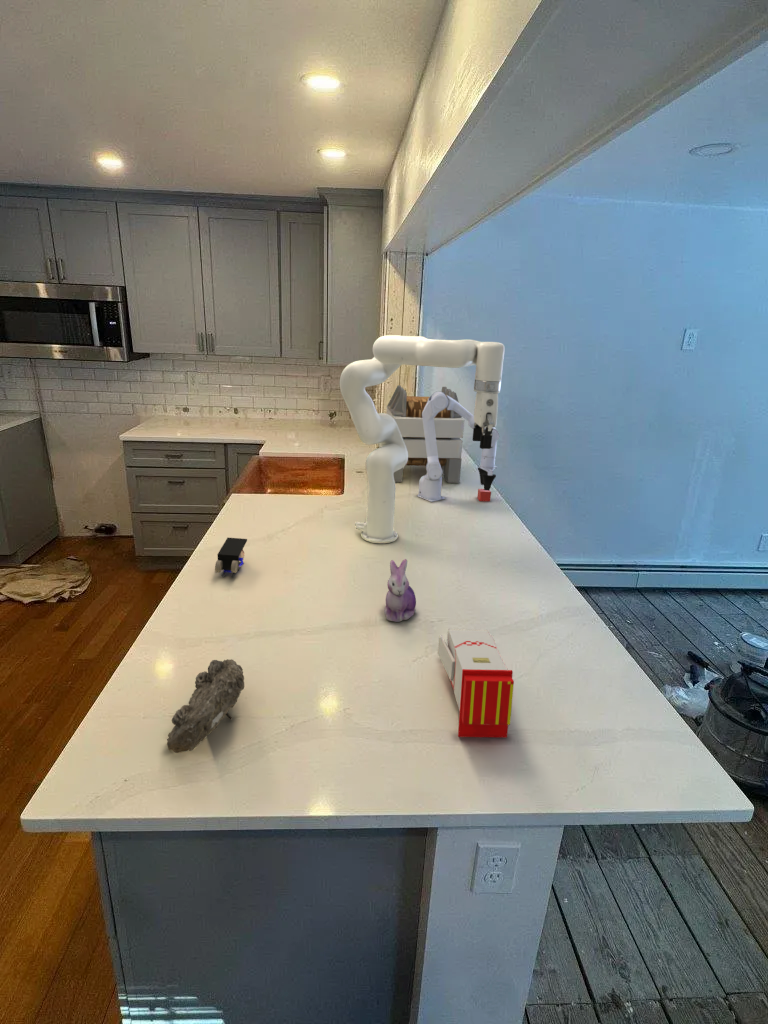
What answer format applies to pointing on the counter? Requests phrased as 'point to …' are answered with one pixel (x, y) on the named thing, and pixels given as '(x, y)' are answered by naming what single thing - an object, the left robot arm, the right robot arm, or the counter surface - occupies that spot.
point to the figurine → (399, 594)
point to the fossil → (206, 705)
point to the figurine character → (230, 556)
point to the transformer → (412, 432)
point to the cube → (484, 495)
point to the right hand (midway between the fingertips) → (485, 487)
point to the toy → (478, 682)
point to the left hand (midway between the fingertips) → (481, 444)
